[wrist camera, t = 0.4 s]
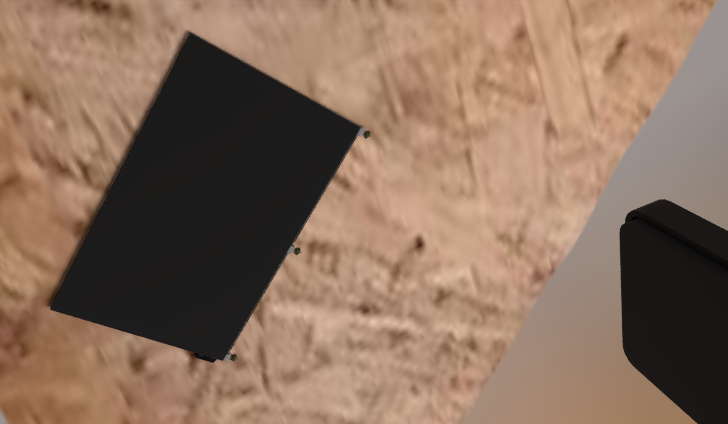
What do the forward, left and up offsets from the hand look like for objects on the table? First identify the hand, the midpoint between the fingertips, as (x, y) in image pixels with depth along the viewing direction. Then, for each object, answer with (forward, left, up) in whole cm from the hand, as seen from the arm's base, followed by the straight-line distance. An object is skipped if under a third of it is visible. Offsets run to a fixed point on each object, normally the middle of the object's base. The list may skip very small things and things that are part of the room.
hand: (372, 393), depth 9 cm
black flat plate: (+13, -2, -36) cm, 38 cm away
